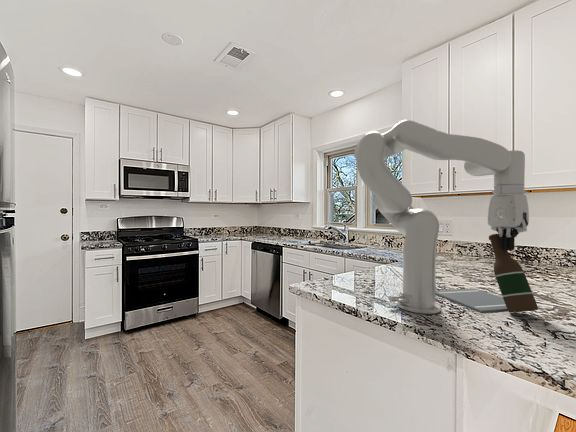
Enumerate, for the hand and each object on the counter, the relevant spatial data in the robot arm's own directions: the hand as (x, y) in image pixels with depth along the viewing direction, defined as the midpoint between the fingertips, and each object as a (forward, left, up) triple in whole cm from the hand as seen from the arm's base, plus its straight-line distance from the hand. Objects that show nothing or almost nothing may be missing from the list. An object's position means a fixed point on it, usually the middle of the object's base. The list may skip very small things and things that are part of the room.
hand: (507, 249), depth 88 cm
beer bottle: (0, -5, -18) cm, 19 cm away
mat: (0, +11, -19) cm, 22 cm away
